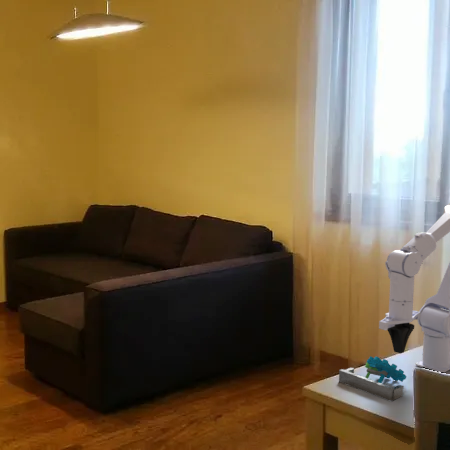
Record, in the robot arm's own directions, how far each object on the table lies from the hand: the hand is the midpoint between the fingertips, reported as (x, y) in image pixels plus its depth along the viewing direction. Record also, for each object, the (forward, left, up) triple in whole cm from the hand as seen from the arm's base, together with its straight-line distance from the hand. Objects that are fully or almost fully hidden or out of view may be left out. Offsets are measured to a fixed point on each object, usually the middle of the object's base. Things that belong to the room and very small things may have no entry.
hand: (398, 352), depth 170 cm
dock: (+11, 0, -7) cm, 13 cm away
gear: (+6, 0, -7) cm, 9 cm away
